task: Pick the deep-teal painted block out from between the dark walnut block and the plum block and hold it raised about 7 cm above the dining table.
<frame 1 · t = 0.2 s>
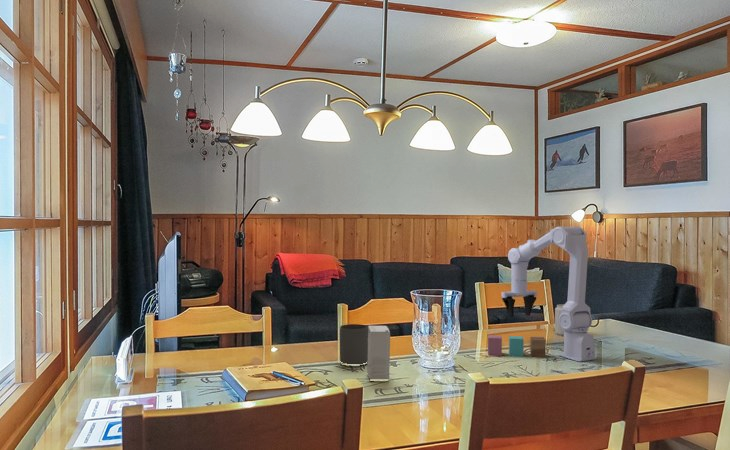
hand: (519, 315, 212), 10 cm above the table, tool pointing down, fingers open, 7 cm apart
walnut block: (537, 355, 191), on the table
can: (564, 335, 226), on the table
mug: (352, 362, 183), on the table
skincare box: (378, 379, 164), on the table
plum block: (494, 354, 194), on the table
teal block: (516, 355, 192), on the table
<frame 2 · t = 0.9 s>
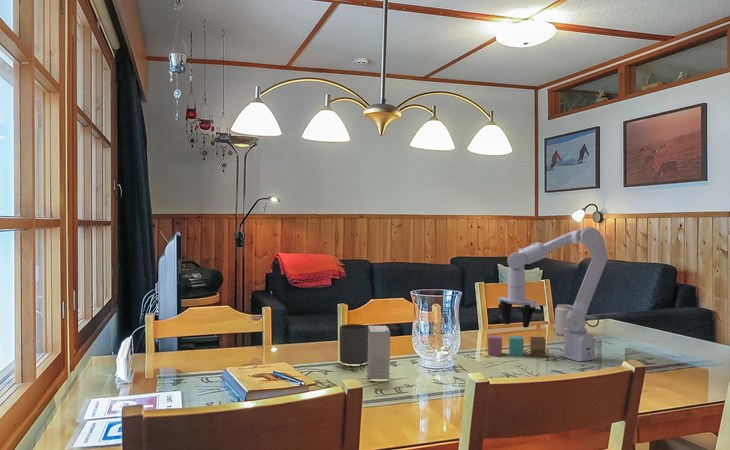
hand: (516, 325, 195), 9 cm above the table, tool pointing down, fingers open, 7 cm apart
nothing on the table moved.
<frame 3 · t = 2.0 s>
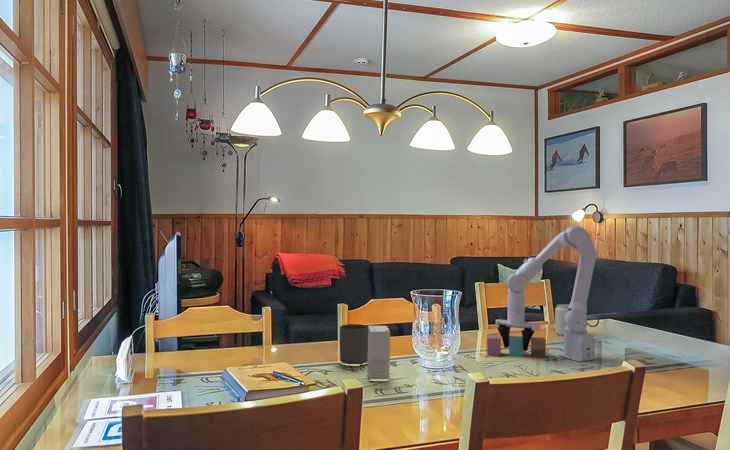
hand: (515, 348, 192), 2 cm above the table, tool pointing down, fingers open, 6 cm apart
walnut block: (538, 356, 191), on the table, touching gripper
plum block: (493, 354, 194), on the table, touching gripper
teal block: (516, 355, 192), on the table, touching gripper
everything else where it was.
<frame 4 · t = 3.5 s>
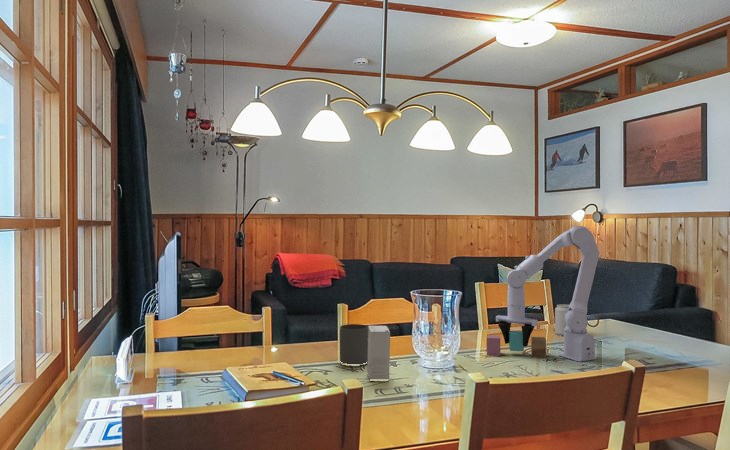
hand: (516, 344, 192), 3 cm above the table, tool pointing down, fingers closed on teal block, 6 cm apart
walnut block: (538, 355, 191), on the table
plum block: (493, 354, 193), on the table
teal block: (516, 349, 192), point 2 cm above the table, touching gripper
everything else where it was.
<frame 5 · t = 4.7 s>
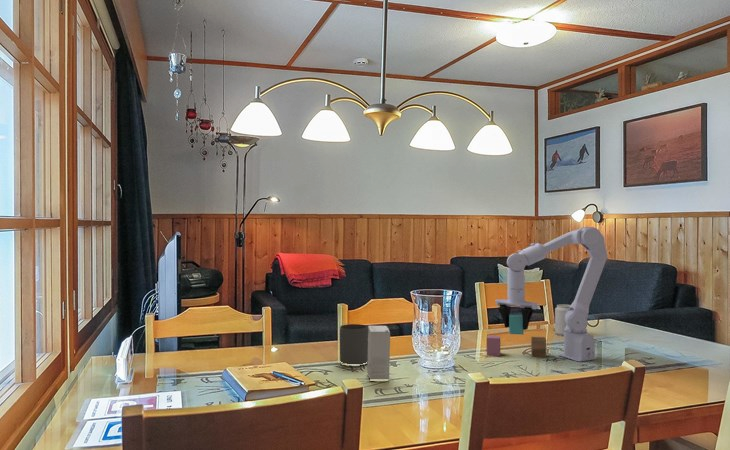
hand: (516, 328, 192), 9 cm above the table, tool pointing down, fingers closed on teal block, 6 cm apart
teal block: (516, 333, 192), point 7 cm above the table, touching gripper
everything else where it was.
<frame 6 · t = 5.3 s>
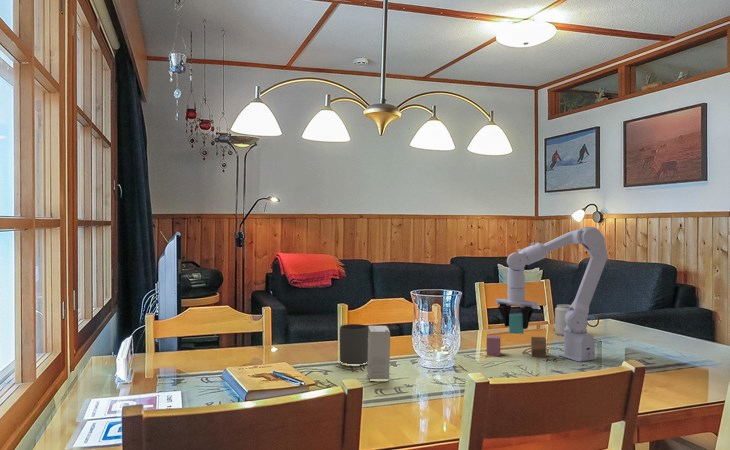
hand: (516, 327, 192), 9 cm above the table, tool pointing down, fingers closed on teal block, 6 cm apart
teal block: (516, 332, 192), point 8 cm above the table, touching gripper
everything else where it was.
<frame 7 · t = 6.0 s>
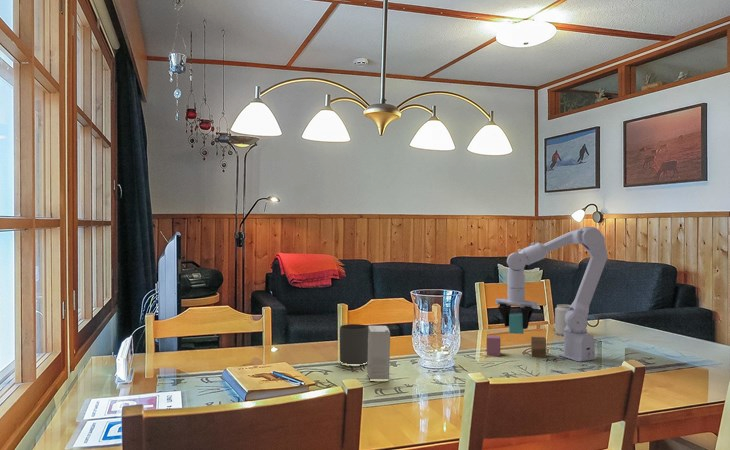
hand: (516, 327, 192), 9 cm above the table, tool pointing down, fingers closed on teal block, 6 cm apart
teal block: (516, 332, 192), point 8 cm above the table, touching gripper
everything else where it was.
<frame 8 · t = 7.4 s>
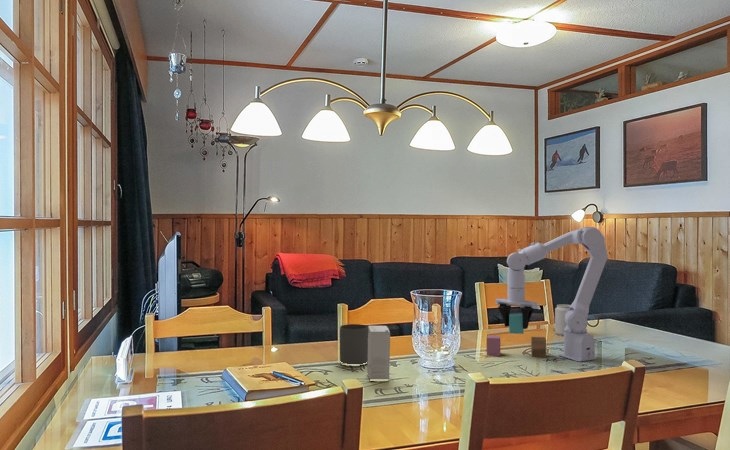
hand: (516, 327, 192), 9 cm above the table, tool pointing down, fingers closed on teal block, 6 cm apart
teal block: (516, 332, 192), point 8 cm above the table, touching gripper
everything else where it was.
at the end: teal block point 7.7 cm above the table; walnut block moved 0.3 cm from its start; plum block moved 0.5 cm from its start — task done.
